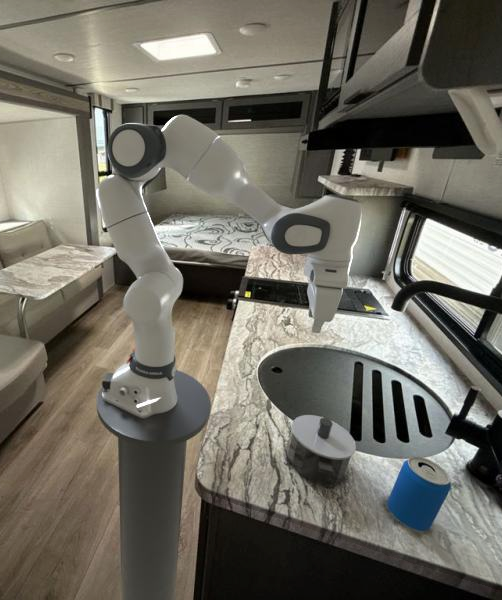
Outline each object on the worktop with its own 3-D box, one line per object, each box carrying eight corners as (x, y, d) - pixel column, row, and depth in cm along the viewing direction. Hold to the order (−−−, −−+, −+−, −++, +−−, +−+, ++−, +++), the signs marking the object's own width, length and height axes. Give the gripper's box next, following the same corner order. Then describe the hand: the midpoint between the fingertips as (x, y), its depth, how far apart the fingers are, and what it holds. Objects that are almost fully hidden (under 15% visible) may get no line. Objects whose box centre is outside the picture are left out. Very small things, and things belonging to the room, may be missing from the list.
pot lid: (292, 450, 64) (296, 433, 62) (290, 413, 75) (293, 397, 73) (360, 470, 60) (367, 452, 58) (348, 427, 70) (353, 411, 69)
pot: (288, 484, 64) (294, 457, 62) (285, 428, 79) (291, 405, 76) (352, 505, 60) (362, 477, 58) (337, 442, 75) (344, 418, 72)
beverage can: (422, 507, 60) (444, 461, 56) (435, 540, 54) (461, 492, 50) (382, 494, 62) (400, 449, 58) (391, 524, 57) (412, 477, 53)
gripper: (307, 258, 81) (297, 307, 86) (315, 279, 63) (301, 339, 68) (335, 261, 79) (323, 311, 84) (350, 283, 61) (334, 344, 66)
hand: (313, 323), depth 76 cm, fingers open, 8 cm apart
